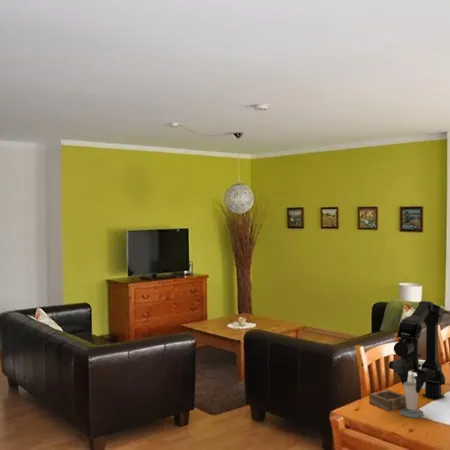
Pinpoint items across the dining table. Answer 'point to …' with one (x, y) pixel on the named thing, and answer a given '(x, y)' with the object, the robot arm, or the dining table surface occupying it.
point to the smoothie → (410, 394)
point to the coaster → (411, 413)
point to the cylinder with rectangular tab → (416, 374)
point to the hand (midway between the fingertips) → (411, 390)
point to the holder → (387, 400)
